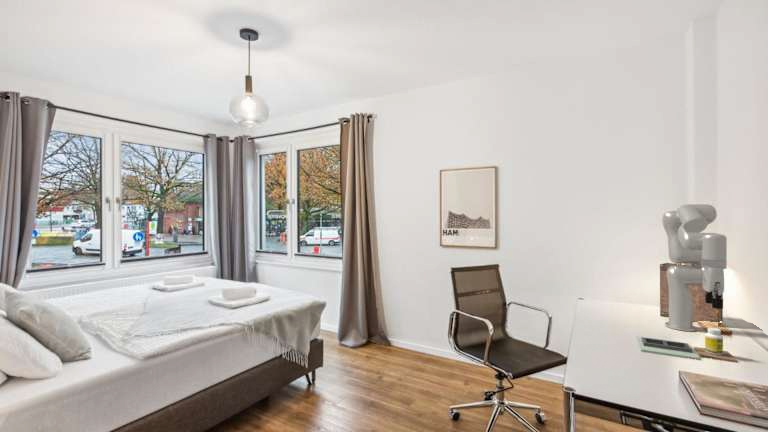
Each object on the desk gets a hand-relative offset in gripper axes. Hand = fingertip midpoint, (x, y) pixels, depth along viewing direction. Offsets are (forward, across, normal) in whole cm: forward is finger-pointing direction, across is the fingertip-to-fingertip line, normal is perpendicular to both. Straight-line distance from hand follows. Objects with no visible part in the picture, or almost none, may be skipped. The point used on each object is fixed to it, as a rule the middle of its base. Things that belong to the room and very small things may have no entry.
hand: (713, 305), depth 149 cm
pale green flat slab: (+20, 0, -16) cm, 26 cm away
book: (+21, -63, +4) cm, 66 cm away
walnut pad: (+20, 0, 0) cm, 20 cm away
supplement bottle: (+20, 0, 0) cm, 20 cm away
